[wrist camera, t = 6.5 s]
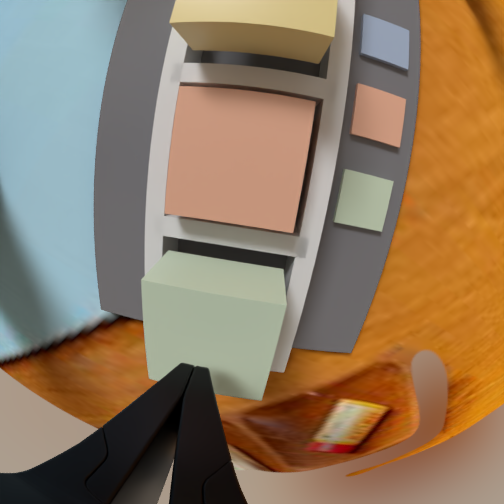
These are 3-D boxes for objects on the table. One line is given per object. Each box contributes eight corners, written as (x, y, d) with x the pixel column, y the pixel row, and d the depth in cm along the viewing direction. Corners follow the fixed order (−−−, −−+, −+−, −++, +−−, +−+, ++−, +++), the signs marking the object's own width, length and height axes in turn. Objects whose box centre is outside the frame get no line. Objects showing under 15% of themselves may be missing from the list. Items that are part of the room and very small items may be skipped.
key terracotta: (185, 200, 12) (164, 213, 9) (198, 99, 10) (179, 86, 8) (288, 215, 12) (293, 233, 9) (305, 112, 10) (316, 101, 8)
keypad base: (107, 303, 16) (83, 329, 13) (165, -68, 7) (150, -92, 4) (348, 344, 16) (359, 379, 13) (408, -39, 7) (426, -60, 4)
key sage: (168, 340, 12) (149, 378, 10) (168, 250, 10) (141, 279, 8) (263, 357, 12) (261, 400, 10) (283, 269, 10) (286, 305, 8)
